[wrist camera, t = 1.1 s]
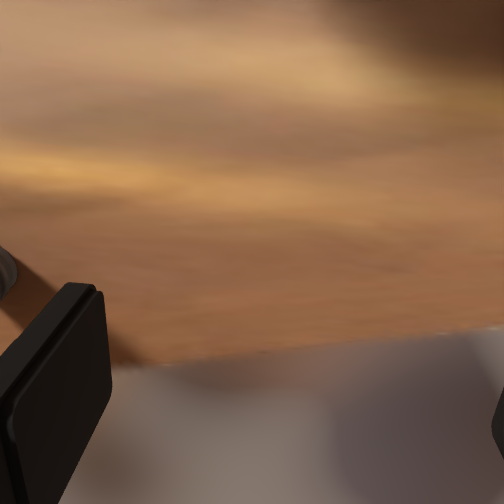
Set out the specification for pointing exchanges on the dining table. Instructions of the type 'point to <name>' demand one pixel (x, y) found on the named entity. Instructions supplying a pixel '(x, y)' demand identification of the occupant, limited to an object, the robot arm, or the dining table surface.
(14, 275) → the beverage cup
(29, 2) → the dining table surface
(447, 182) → the dining table surface
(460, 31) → the dining table surface
